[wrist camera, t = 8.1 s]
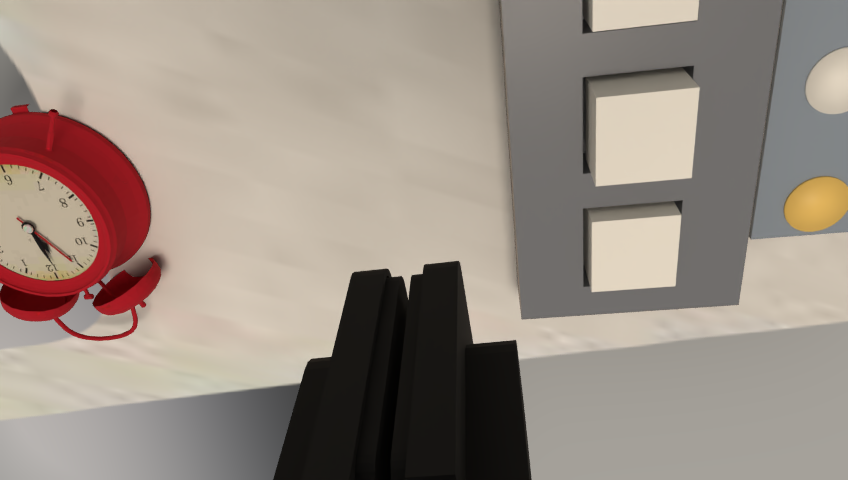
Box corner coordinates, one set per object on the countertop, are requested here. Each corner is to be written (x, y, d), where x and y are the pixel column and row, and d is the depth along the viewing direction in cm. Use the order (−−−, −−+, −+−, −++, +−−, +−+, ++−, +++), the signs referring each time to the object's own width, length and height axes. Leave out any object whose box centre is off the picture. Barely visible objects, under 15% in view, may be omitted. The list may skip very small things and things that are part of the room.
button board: (490, -137, 30) (492, -132, 27) (777, -177, 28) (808, -177, 26) (517, 288, 42) (521, 319, 39) (721, 273, 40) (738, 304, 38)
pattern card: (800, -115, 29) (804, -114, 29) (958, -135, 29) (965, -135, 28) (749, 236, 39) (751, 240, 38) (867, 227, 38) (871, 231, 38)
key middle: (585, 76, 32) (596, 97, 30) (680, 65, 32) (699, 87, 29) (585, 159, 35) (595, 186, 32) (674, 151, 34) (691, 178, 32)
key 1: (582, 194, 37) (591, 222, 34) (666, 187, 36) (681, 215, 34) (583, 261, 39) (591, 292, 37) (661, 255, 39) (675, 286, 36)
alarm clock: (71, 102, 33) (149, 374, 38) (133, 88, 39) (194, 324, 43) (-121, 126, 34) (-23, 387, 39) (-32, 109, 40) (44, 337, 45)
